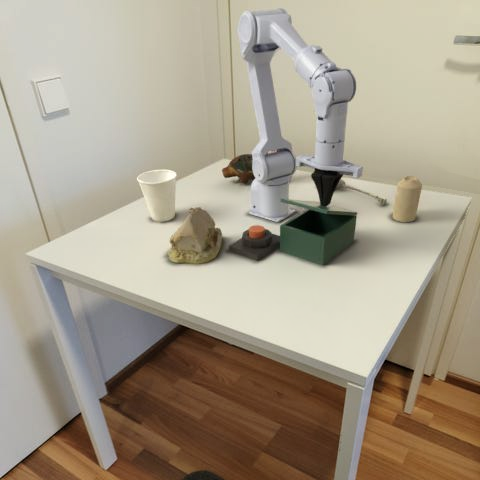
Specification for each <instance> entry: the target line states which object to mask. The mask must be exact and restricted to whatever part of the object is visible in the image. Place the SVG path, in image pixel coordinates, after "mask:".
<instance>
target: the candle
mask: <svg viewBox="0 0 480 480" xmlns="http://www.w3.org/2000/svg"><path fill="white" fill-rule="evenodd" d="M422 188H423V184H422V182H421V181H420V180H419V179H418V178H417V177H415V176H414V175H410V176H409V175H408V176H405V177H403V178H402V179H401V180H399V181H398V182H397V186H396V192H395V198H394V204H393V210H392V219H393V220H395V221H396V222H401V223H410V222H413V221H415V220H416V218H417V212H418V208H419V203H420V198H421V193H422Z"/></svg>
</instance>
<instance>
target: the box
mask: <svg viewBox="0 0 480 480" xmlns="http://www.w3.org/2000/svg"><path fill="white" fill-rule="evenodd" d="M357 218H358V215H337V214H325V213H321V212H317V211H313V210H309V209H306V208H305V210H303V211H302V212H300V213H298V214H296V215H295V216H293V217H291V218H290V219H288V220H287V221H285V222H284V223H282V224H280V225H279V236H280V246H279V252H281V253H284V254H287V255H290V256H293V257H295V258H299V259H302V260H305V261H308V262H311V263H314V264H317V265H319V266H323V267H324V265H326V264H327V263H328V262H329V261H330V260H332V259H333V258H334V257H336V256H337V255H338V254H340V253H341V252H342V251H343V250H344V249H346V248H347V247H349V246H350V245H351V244H352V243H354V241H355V235H356V225H357Z"/></svg>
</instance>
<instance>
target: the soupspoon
mask: <svg viewBox="0 0 480 480" xmlns="http://www.w3.org/2000/svg"><path fill="white" fill-rule="evenodd" d="M346 184H347V183H346V181H345V180H343V179H342V178H341V179H340V181H339V183H338V185H337V186H336V187H340V188H346V189H350V190H354V191H356V192H359V193H362V194H364V195H367V196H369V197H372V198H374V200H377V201H378V202H379V203H381V205H382V206H384V205H386V203H387V202H388V201H387V198H382V197H380V196H378V195H375V194H372V193H371V192H367V191H365V190H363V189H359V188H356V187H354V186H350V185H346Z"/></svg>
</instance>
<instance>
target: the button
mask: <svg viewBox="0 0 480 480" xmlns="http://www.w3.org/2000/svg"><path fill="white" fill-rule="evenodd" d="M248 229H249V237H250V238H254V239H259V238H263V237H265V229H266V228H265V227H264V226H263V225H259V224H257V225H256V224H255V225H251V226H249V228H248Z"/></svg>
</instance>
